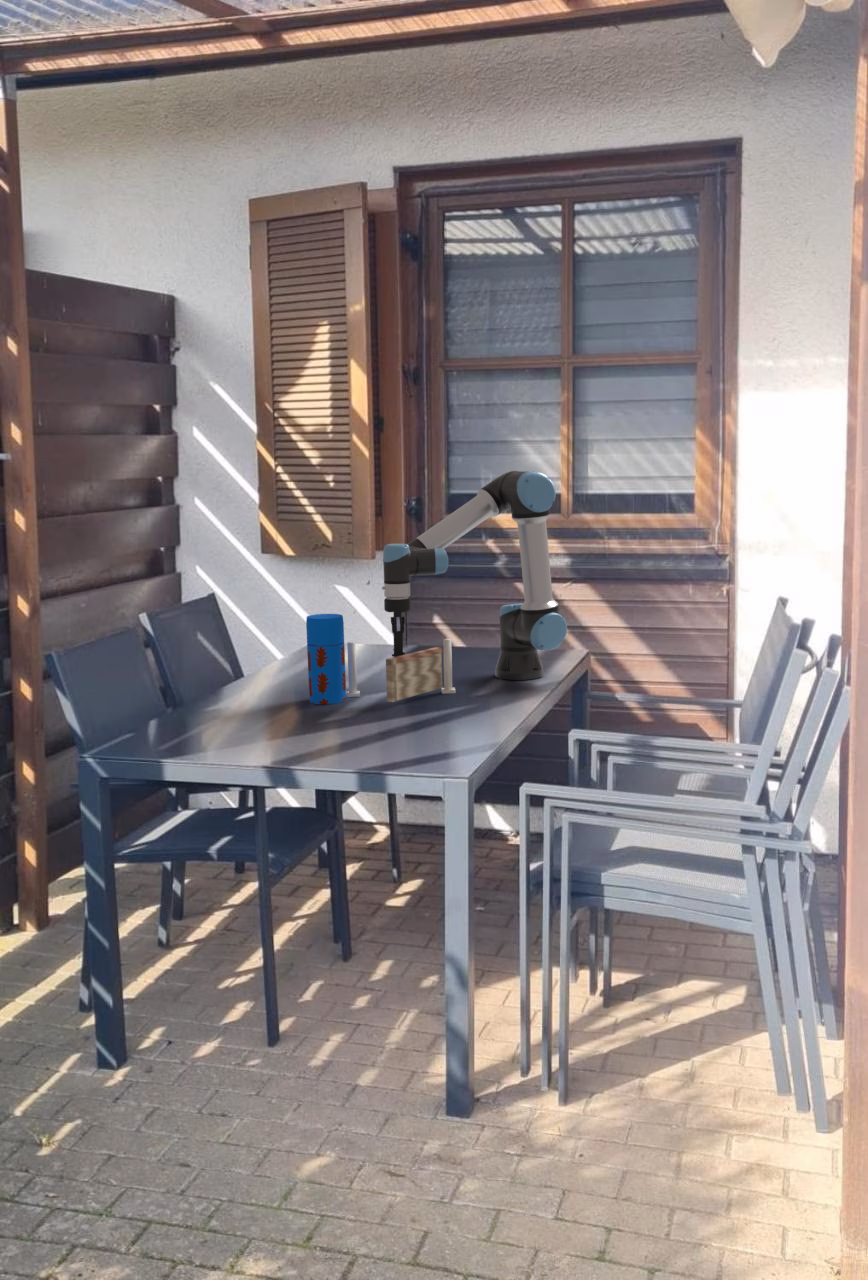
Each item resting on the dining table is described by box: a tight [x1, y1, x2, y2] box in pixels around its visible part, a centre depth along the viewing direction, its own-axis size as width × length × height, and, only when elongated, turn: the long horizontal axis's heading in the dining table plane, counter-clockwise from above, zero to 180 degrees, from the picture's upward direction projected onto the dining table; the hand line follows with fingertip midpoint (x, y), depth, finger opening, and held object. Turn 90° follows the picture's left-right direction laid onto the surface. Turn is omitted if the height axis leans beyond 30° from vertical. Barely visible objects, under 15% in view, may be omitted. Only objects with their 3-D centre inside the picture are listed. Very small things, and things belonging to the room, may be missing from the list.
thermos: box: [305, 613, 347, 705], centre depth 403 cm, size 11×11×25 cm
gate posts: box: [346, 638, 457, 698], centre depth 411 cm, size 32×4×16 cm, turn 93°
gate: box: [385, 646, 444, 703], centre depth 402 cm, size 24×2×12 cm, turn 142°
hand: (398, 677), depth 402 cm, fingers closed
